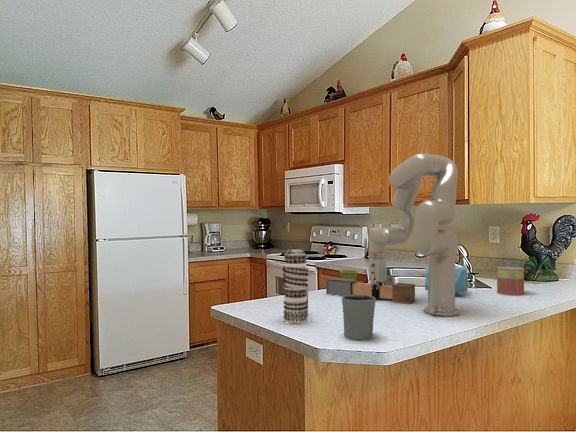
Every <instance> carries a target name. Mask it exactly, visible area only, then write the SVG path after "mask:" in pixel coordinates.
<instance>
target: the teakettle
mask: <svg viewBox="0 0 576 432" xmlns="http://www.w3.org/2000/svg"><path fill="white" fill-rule="evenodd" d="M468 266H469V265H466V264H465V265H462V266H455V297H462V294H461V293H468V288H469V287H468V268H467V267H468ZM424 273H425V274H424V275H425V276H424V283H425V284H424V286H425V287H424V288H425V289H424V290H425V291H427V292H428V263H426V266H425V267H424Z"/></svg>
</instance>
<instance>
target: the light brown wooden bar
mask: <svg viewBox="0 0 576 432" xmlns="http://www.w3.org/2000/svg"><path fill="white" fill-rule="evenodd" d="M378 289H379V298H378V299H388V300H392V285H388V284H383V285H379V286H378ZM351 295H368V296H372V288H371V284H370V283H365V282H352V283H351Z"/></svg>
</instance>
